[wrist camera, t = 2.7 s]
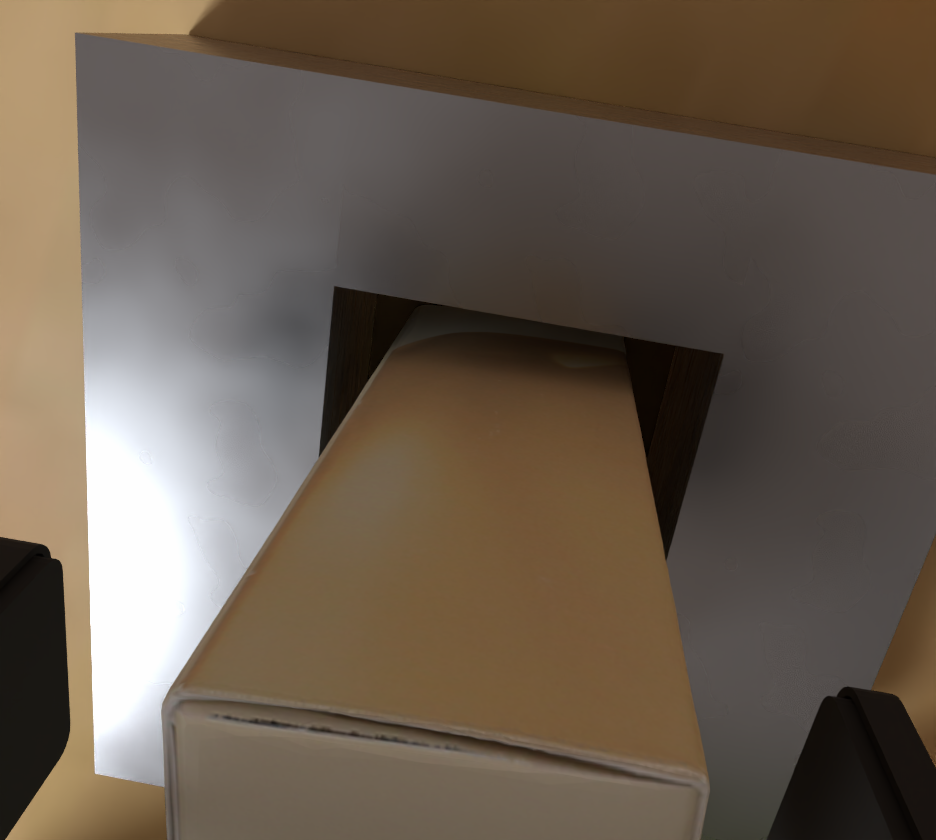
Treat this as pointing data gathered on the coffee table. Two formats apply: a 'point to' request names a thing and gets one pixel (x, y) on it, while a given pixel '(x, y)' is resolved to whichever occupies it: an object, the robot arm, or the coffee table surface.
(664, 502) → the holder
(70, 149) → the coffee table surface
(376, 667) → the skincare box
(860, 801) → the robot arm
